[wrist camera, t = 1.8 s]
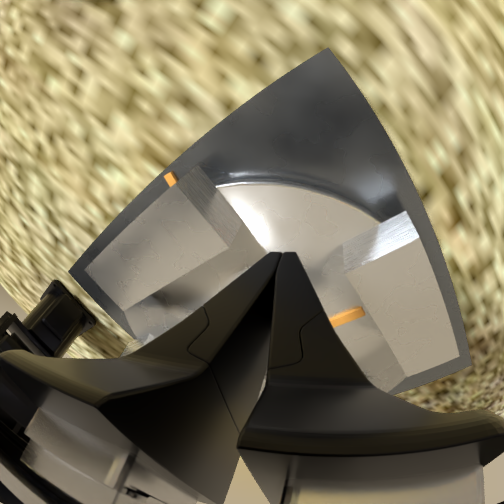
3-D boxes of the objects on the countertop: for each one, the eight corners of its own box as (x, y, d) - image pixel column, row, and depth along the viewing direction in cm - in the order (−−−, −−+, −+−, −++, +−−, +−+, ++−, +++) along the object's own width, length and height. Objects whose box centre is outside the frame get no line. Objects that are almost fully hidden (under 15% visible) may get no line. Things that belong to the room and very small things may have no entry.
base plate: (247, 414, 32) (244, 426, 30) (77, 262, 24) (66, 272, 22) (468, 351, 20) (472, 366, 18) (327, 50, 12) (328, 46, 10)
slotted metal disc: (245, 422, 29) (237, 448, 27) (77, 277, 22) (53, 303, 19) (460, 365, 18) (468, 401, 16) (323, 75, 11) (324, 74, 8)
